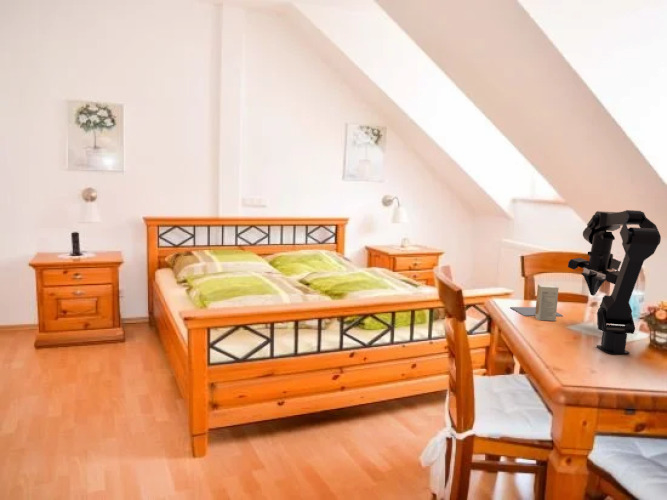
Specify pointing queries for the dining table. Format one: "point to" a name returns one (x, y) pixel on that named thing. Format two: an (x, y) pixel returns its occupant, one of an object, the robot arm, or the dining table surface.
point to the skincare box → (546, 302)
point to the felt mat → (528, 311)
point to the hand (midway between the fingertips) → (592, 295)
